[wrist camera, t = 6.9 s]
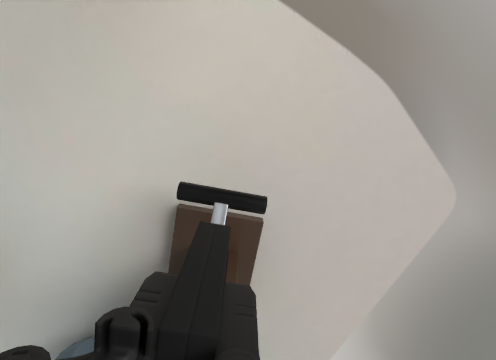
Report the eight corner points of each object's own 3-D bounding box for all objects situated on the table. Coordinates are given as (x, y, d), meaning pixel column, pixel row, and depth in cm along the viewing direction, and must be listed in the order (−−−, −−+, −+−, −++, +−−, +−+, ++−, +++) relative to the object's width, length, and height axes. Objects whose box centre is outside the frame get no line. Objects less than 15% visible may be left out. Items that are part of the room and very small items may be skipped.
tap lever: (182, 184, 23) (178, 178, 21) (264, 199, 23) (269, 194, 21) (143, 359, 20) (133, 374, 17) (238, 372, 20) (241, 389, 18)
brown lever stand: (179, 203, 29) (125, 282, 16) (262, 217, 30) (278, 306, 16) (166, 299, 32) (111, 435, 19) (242, 311, 33) (241, 451, 19)
